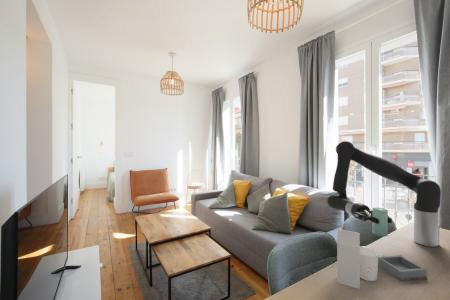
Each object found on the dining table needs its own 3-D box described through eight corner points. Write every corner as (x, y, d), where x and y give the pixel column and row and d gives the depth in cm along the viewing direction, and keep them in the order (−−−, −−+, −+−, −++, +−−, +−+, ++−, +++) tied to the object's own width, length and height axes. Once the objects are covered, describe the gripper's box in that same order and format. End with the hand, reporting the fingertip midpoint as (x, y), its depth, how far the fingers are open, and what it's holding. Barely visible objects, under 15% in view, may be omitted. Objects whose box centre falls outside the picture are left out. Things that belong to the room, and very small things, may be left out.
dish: (400, 263, 94) (400, 255, 94) (426, 278, 83) (426, 269, 83) (377, 265, 93) (377, 256, 93) (400, 280, 82) (401, 271, 82)
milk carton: (359, 289, 77) (359, 236, 77) (337, 283, 81) (337, 232, 81) (359, 279, 83) (359, 229, 83) (338, 273, 87) (338, 226, 87)
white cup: (382, 283, 81) (382, 256, 80) (359, 281, 82) (359, 254, 82) (372, 271, 88) (372, 247, 88) (351, 269, 90) (351, 245, 90)
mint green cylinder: (380, 230, 101) (380, 207, 101) (390, 235, 96) (391, 210, 95) (369, 231, 100) (369, 207, 100) (379, 236, 95) (379, 211, 95)
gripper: (344, 203, 111) (369, 213, 94) (370, 202, 113) (399, 212, 96) (344, 217, 111) (369, 230, 95) (369, 216, 113) (399, 228, 96)
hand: (384, 221), depth 95 cm, fingers closed on mint green cylinder, 5 cm apart
